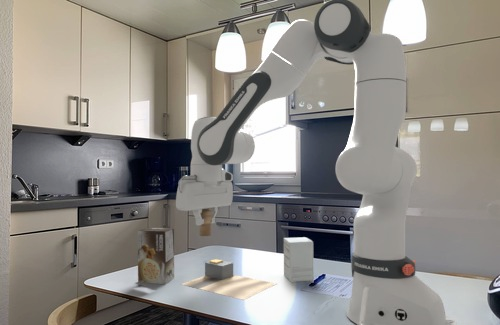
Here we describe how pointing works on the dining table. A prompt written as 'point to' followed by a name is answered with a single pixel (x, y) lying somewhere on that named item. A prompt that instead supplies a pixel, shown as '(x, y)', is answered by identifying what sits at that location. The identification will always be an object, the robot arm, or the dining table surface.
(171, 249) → the brown food box
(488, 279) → the dining table surface
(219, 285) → the plywood board
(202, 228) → the marker peg
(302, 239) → the supplement box
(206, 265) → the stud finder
